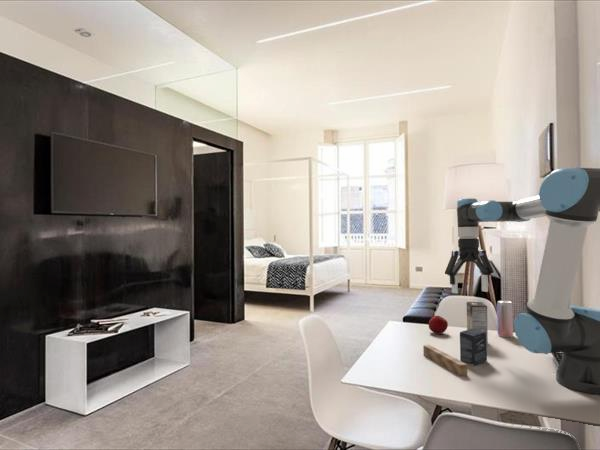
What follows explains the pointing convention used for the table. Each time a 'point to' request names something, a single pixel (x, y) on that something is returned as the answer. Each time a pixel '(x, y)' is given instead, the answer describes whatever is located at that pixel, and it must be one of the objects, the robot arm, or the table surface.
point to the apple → (438, 324)
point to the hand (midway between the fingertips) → (470, 292)
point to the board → (445, 360)
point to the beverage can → (505, 318)
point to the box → (473, 346)
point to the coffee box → (477, 317)
